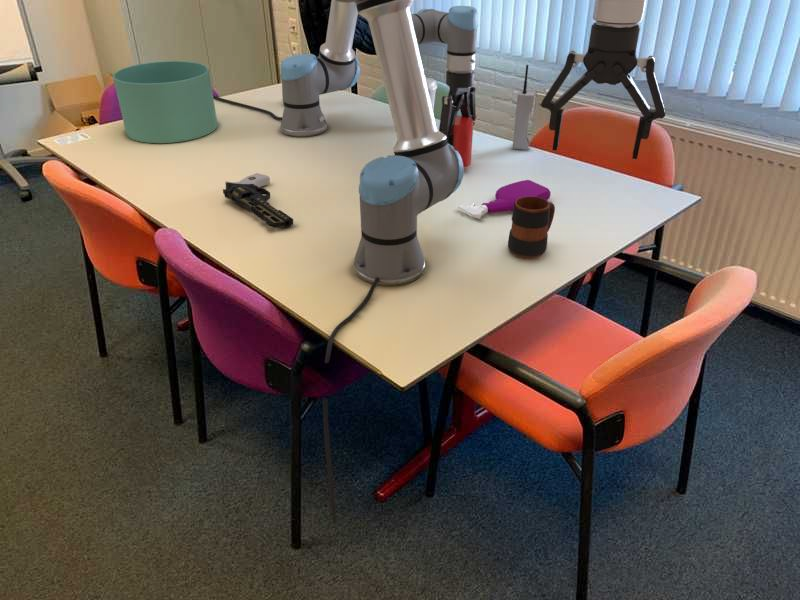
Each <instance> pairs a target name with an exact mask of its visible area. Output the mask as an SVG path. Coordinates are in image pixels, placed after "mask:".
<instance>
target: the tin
mask: <svg viewBox="0 0 800 600" xmlns="http://www.w3.org/2000/svg"><path fill="white" fill-rule="evenodd" d="M473 122H474V121H473V119H471V118H469V117H464V116H462V115H457V116H456V120H455V123H454V127H453V131H452V134H454V138H453V147H454V150H456V151H458V153H459V154H460V156H461V159H462V162H463V169H464V168H468V167H469V166H471V163H472V153H473V151H472V150H473V134H474V126H473Z"/></svg>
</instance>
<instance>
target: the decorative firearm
mask: <svg viewBox="0 0 800 600" xmlns="http://www.w3.org/2000/svg"><path fill="white" fill-rule="evenodd" d="M270 178H271V177H270V176H269V175H267V174H263V173H258V172H256V173H253V174H250V175H247V176H245V177H244V178H242V179H241V180H238V181H234V182H233V181H227V180H226V181H225V188H223V189H222V193H223V195H224V197H225V198H226V199H228V200H231V201H232V202H234V203H236V204H237V205H239V207H243V208H245V209H247V211H249V212H250V213H252V214H253V215H255V216H256V217H258V218H259V219H260V220H262V221H263V222H265V224H266V225H267V227H269V228H273V229H276V228H284V229H286V228H290V227H291V226H293V225H294V218H292V217H291V216H290V215H288V214H287V213H285V212H283V210H281V209H277V208H275V207H274V206H272V205H270V202H268V201H269V200H270V199H271V192H270V191H269V190H267V189H266V188H263V187H264V186H267V185H270V183H271V179H270Z"/></svg>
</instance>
